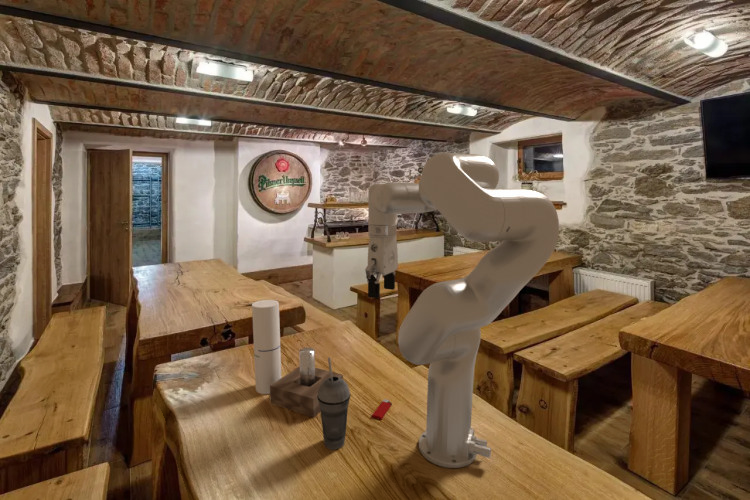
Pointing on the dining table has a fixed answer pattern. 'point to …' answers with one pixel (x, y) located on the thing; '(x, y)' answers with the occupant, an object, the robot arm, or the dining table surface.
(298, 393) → the walnut socket block
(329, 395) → the beverage cup
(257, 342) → the cylindrical container
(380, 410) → the lighter
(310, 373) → the steel peg
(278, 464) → the dining table surface
